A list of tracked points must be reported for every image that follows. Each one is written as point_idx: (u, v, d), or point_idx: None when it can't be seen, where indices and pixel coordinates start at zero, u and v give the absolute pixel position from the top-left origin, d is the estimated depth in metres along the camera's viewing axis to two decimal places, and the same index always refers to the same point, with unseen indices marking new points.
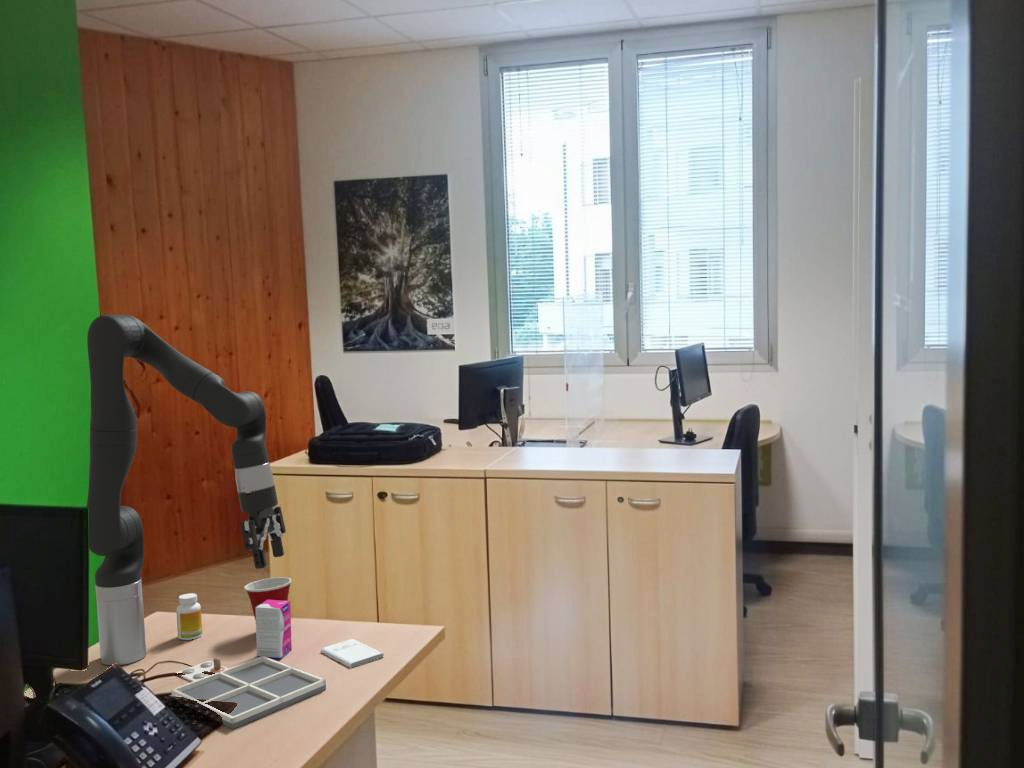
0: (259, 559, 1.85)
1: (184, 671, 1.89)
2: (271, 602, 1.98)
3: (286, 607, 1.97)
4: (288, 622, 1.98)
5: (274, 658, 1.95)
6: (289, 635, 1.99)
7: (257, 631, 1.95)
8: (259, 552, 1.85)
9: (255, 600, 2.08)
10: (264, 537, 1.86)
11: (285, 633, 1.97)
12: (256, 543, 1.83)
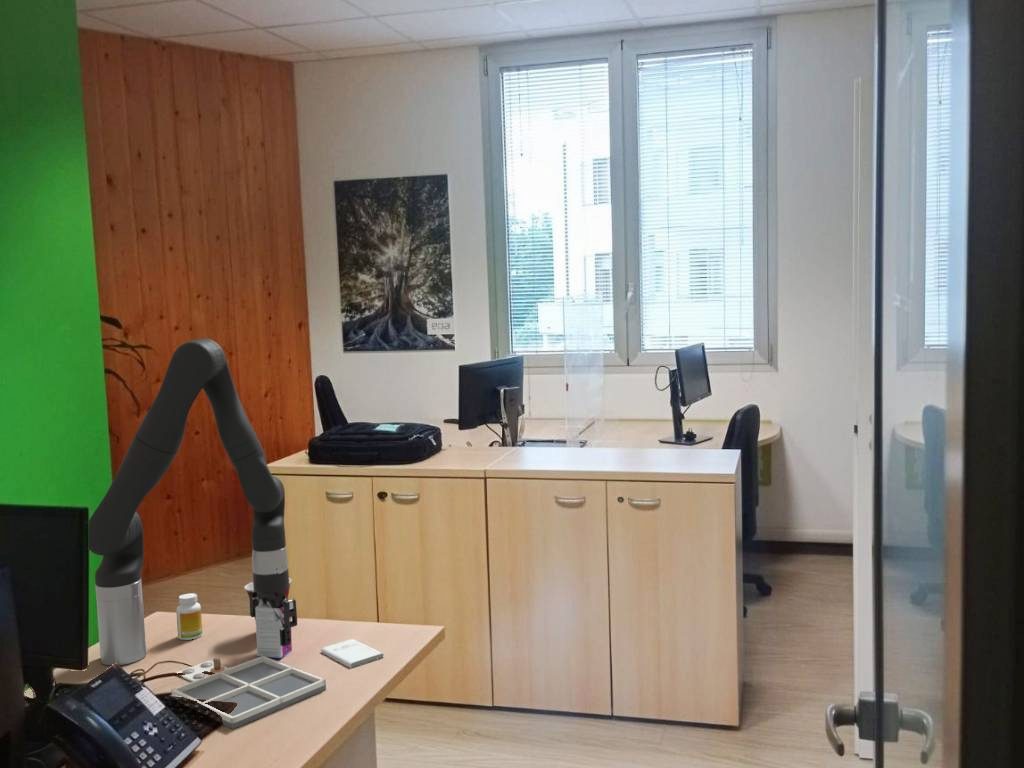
0: (290, 636, 1.95)
1: (184, 671, 1.89)
2: None
3: None
4: None
5: (274, 658, 1.95)
6: None
7: (257, 631, 1.95)
8: None
9: None
10: None
11: None
12: None
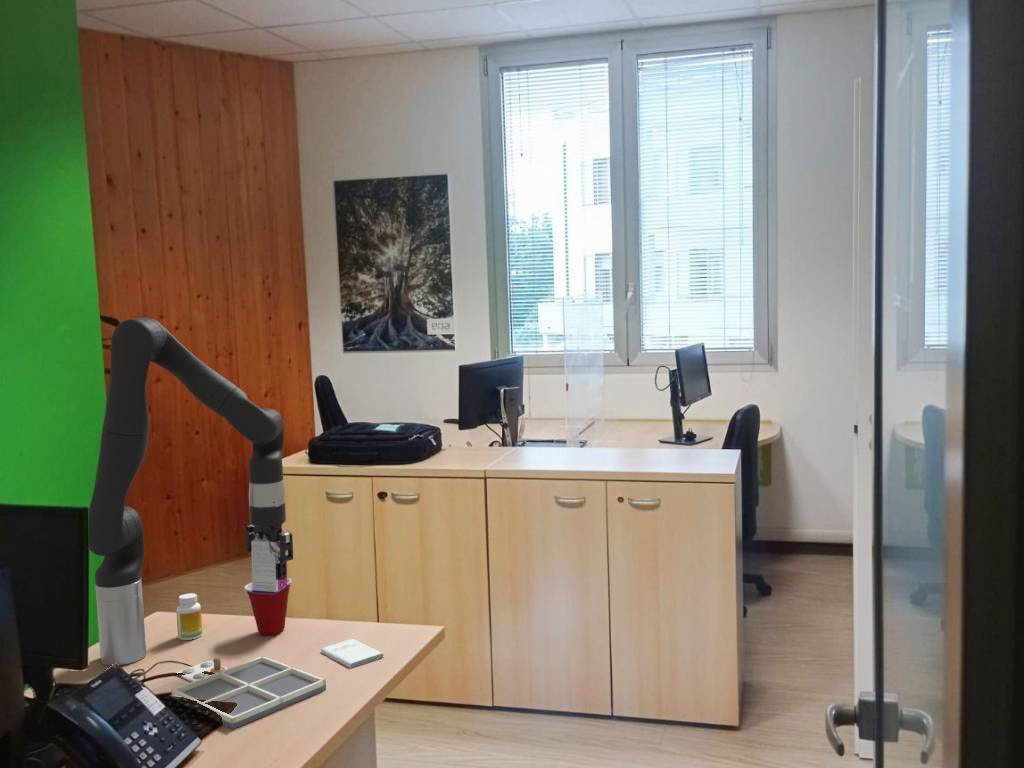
0: (285, 570, 1.94)
1: (184, 671, 1.89)
2: None
3: None
4: None
5: (269, 592, 1.94)
6: None
7: (253, 565, 1.94)
8: None
9: (255, 600, 2.08)
10: None
11: None
12: None
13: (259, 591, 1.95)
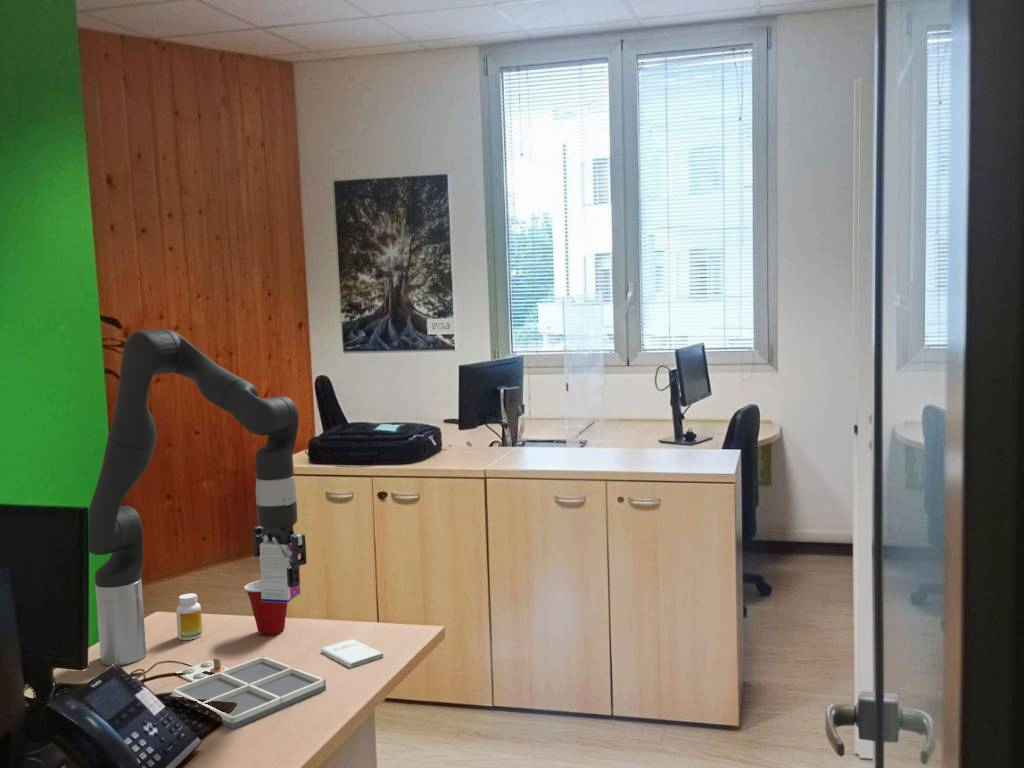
0: (298, 576, 1.74)
1: (184, 671, 1.89)
2: None
3: None
4: None
5: (281, 601, 1.74)
6: None
7: (262, 570, 1.74)
8: None
9: (255, 600, 2.08)
10: None
11: None
12: None
13: (269, 600, 1.74)
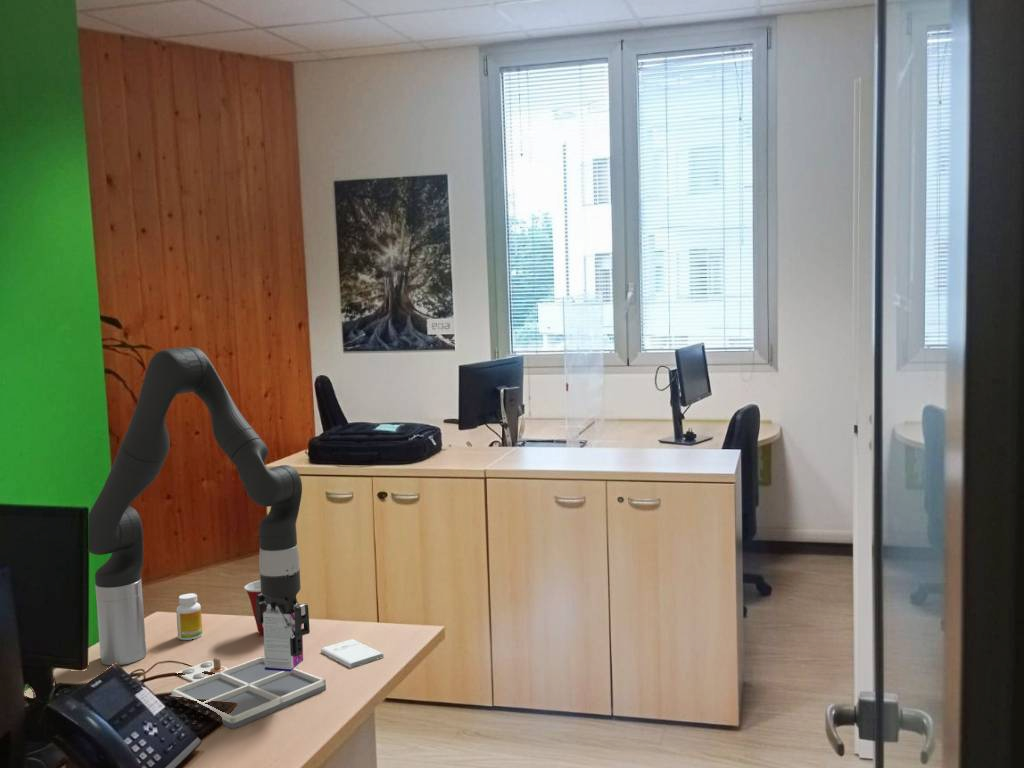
0: (301, 645, 1.75)
1: (184, 671, 1.89)
2: None
3: None
4: None
5: (284, 669, 1.75)
6: None
7: (265, 639, 1.75)
8: None
9: (255, 600, 2.08)
10: None
11: None
12: None
13: (272, 668, 1.75)
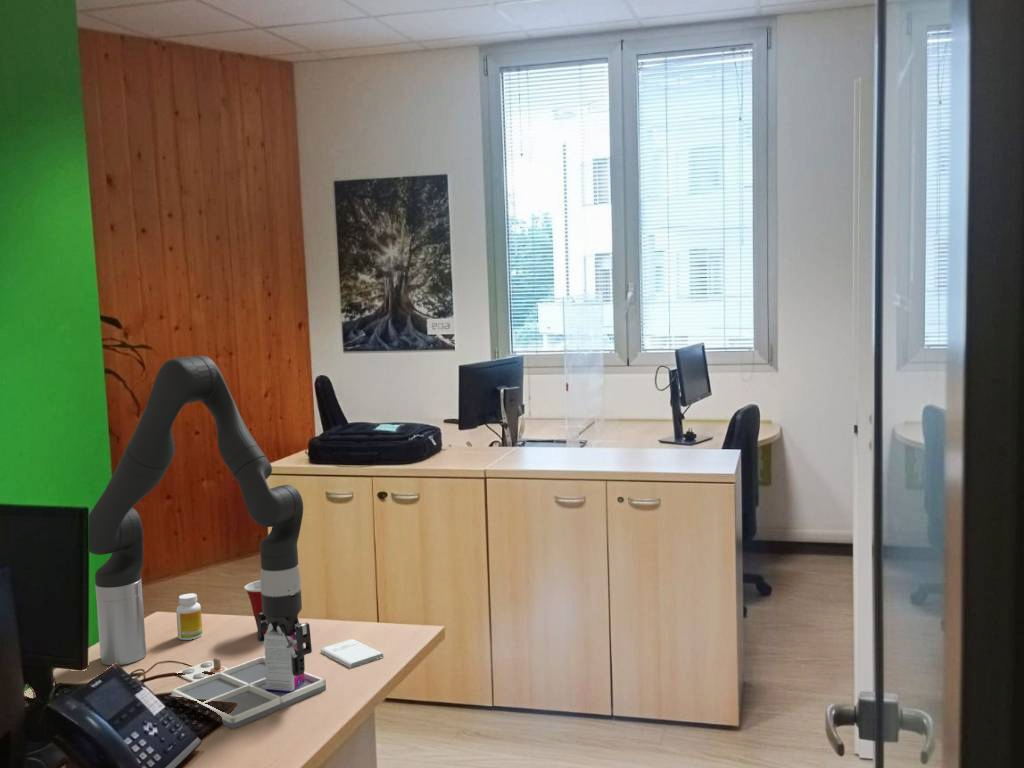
0: (303, 664, 1.75)
1: (184, 671, 1.89)
2: None
3: None
4: None
5: (285, 691, 1.75)
6: None
7: (266, 661, 1.76)
8: None
9: (255, 600, 2.08)
10: None
11: None
12: None
13: (274, 690, 1.76)
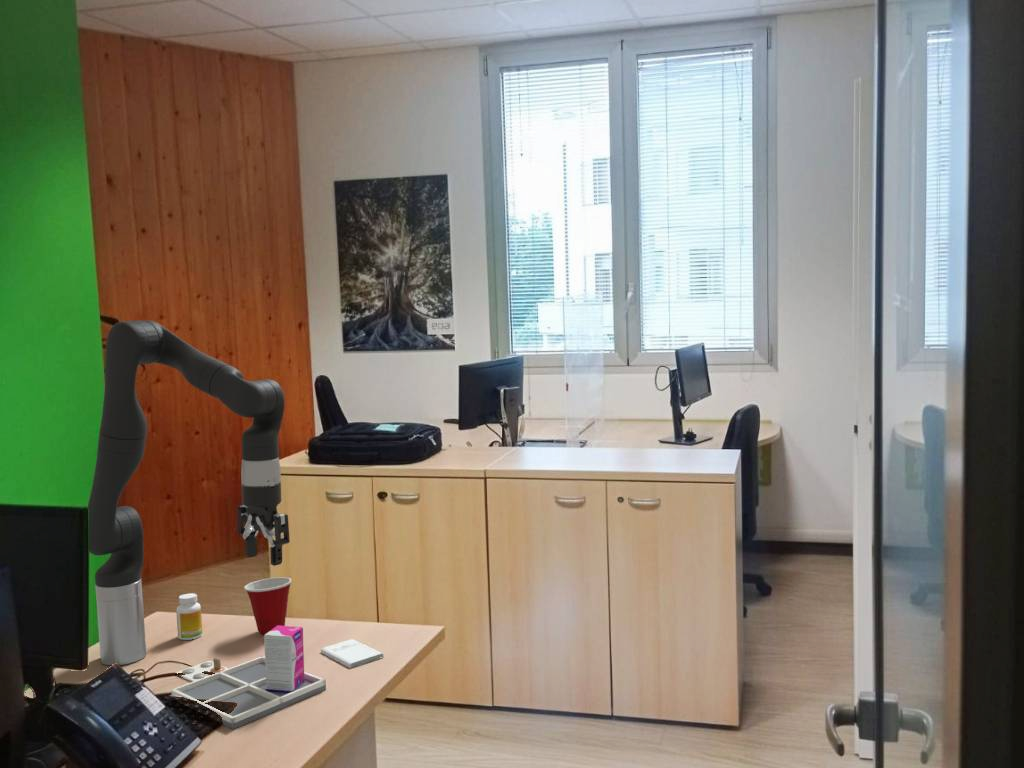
0: (281, 554, 1.78)
1: (184, 671, 1.89)
2: (282, 629, 1.78)
3: (298, 634, 1.78)
4: (300, 651, 1.78)
5: (285, 691, 1.75)
6: (301, 665, 1.79)
7: (266, 661, 1.76)
8: None
9: (255, 600, 2.08)
10: None
11: (298, 663, 1.77)
12: None
13: (274, 690, 1.76)
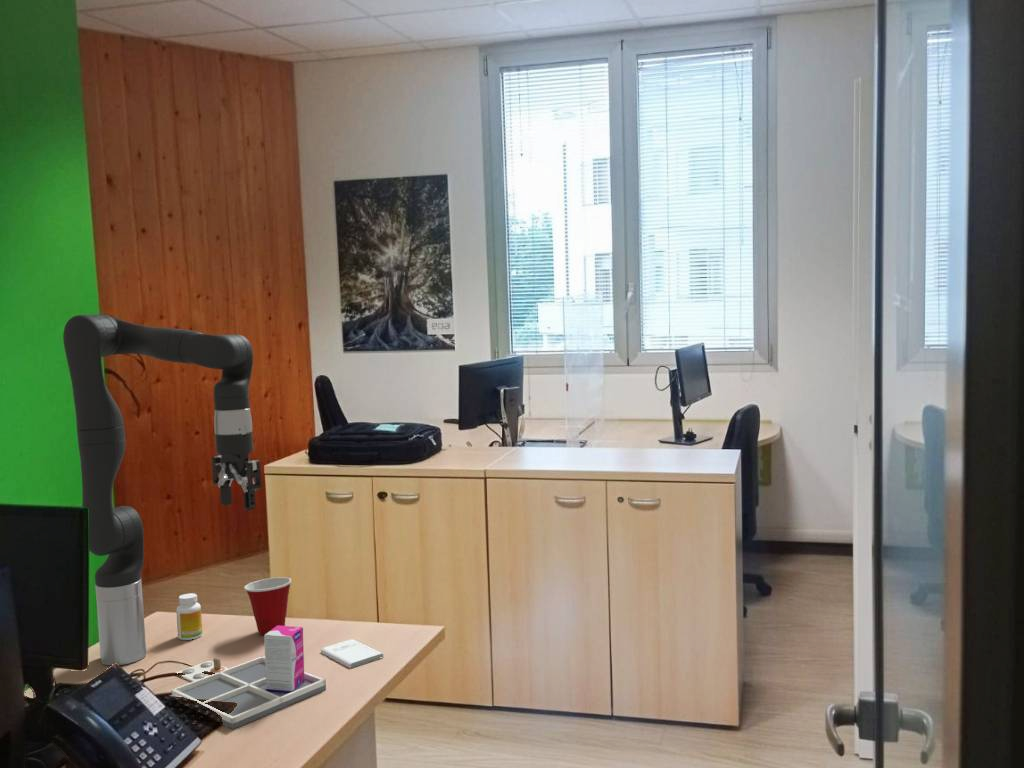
0: (254, 499, 1.87)
1: (184, 671, 1.89)
2: (282, 629, 1.78)
3: (298, 634, 1.78)
4: (300, 651, 1.78)
5: (285, 691, 1.75)
6: (301, 665, 1.79)
7: (266, 661, 1.76)
8: None
9: (255, 600, 2.08)
10: None
11: (298, 663, 1.77)
12: None
13: (274, 690, 1.76)
